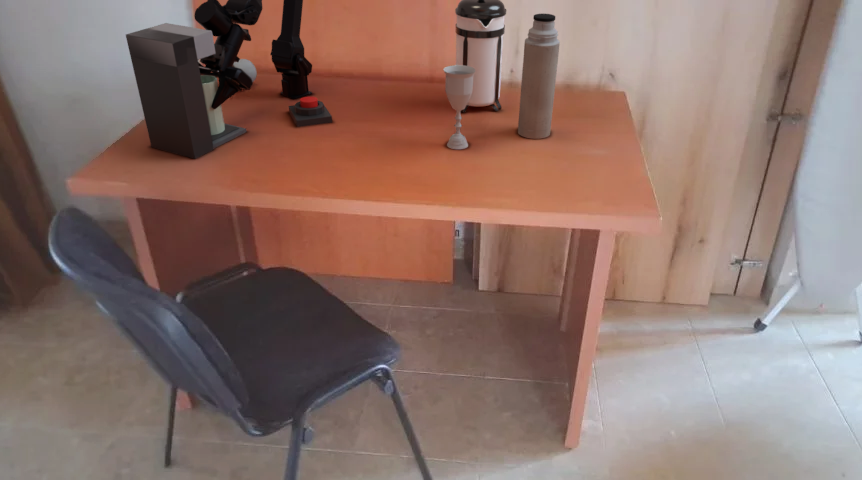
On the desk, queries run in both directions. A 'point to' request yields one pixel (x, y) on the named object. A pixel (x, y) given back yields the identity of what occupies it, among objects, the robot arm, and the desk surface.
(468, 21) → the coffee press
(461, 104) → the chalice
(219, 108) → the cup
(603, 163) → the desk surface
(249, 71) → the ceramic mug
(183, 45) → the coffee maker
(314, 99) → the button
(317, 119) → the button pad
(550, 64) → the thermos bottle
